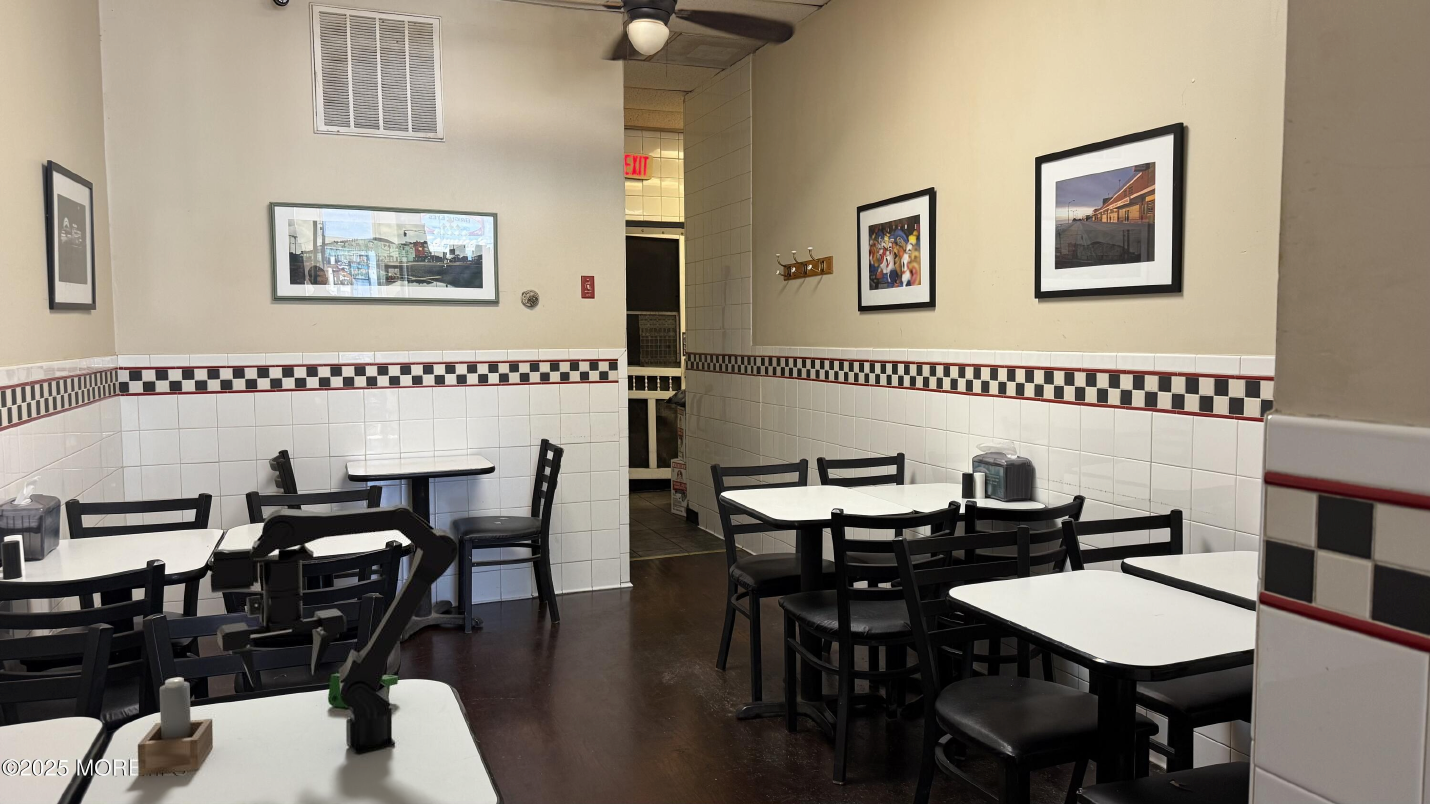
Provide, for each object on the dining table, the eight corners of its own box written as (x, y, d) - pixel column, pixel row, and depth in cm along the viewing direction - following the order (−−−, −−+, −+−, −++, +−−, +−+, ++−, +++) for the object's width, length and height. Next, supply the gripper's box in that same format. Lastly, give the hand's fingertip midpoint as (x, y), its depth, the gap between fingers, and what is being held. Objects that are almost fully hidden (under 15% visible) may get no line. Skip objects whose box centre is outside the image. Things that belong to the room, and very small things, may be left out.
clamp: (386, 723, 177) (408, 680, 178) (369, 728, 171) (392, 683, 172) (336, 694, 180) (358, 651, 181) (319, 697, 174) (342, 653, 175)
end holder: (212, 747, 156) (212, 718, 155) (197, 769, 148) (197, 739, 147) (156, 752, 154) (156, 722, 153) (138, 775, 145) (137, 744, 145)
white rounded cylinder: (178, 747, 153) (176, 674, 152) (197, 751, 152) (195, 677, 151) (155, 757, 149) (153, 682, 148) (174, 762, 148) (172, 686, 147)
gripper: (330, 569, 163) (331, 655, 164) (211, 584, 152) (213, 676, 153) (347, 583, 154) (347, 674, 155) (222, 599, 143) (223, 697, 144)
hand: (284, 679), depth 152 cm, fingers open, 9 cm apart
